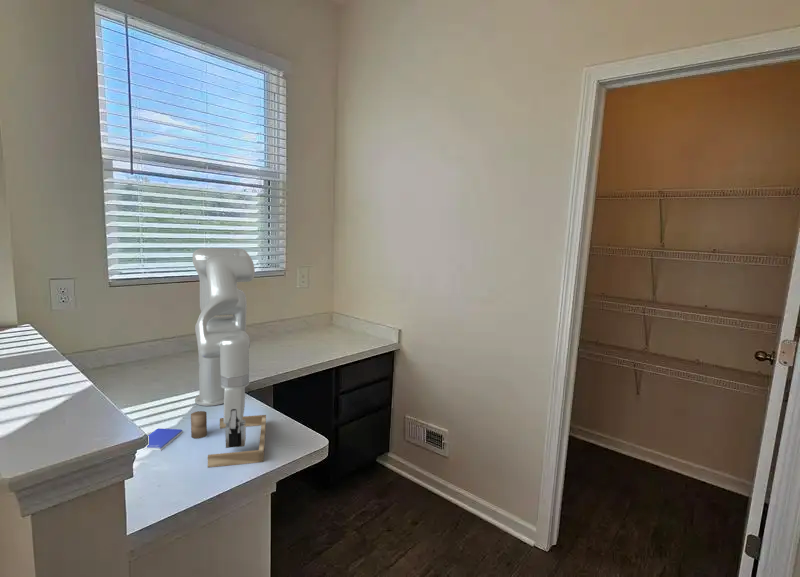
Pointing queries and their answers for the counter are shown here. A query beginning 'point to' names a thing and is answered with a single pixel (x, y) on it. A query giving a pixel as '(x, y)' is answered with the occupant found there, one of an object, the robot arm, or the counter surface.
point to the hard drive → (162, 438)
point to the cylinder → (198, 424)
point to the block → (242, 430)
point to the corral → (244, 456)
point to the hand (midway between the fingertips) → (235, 441)
